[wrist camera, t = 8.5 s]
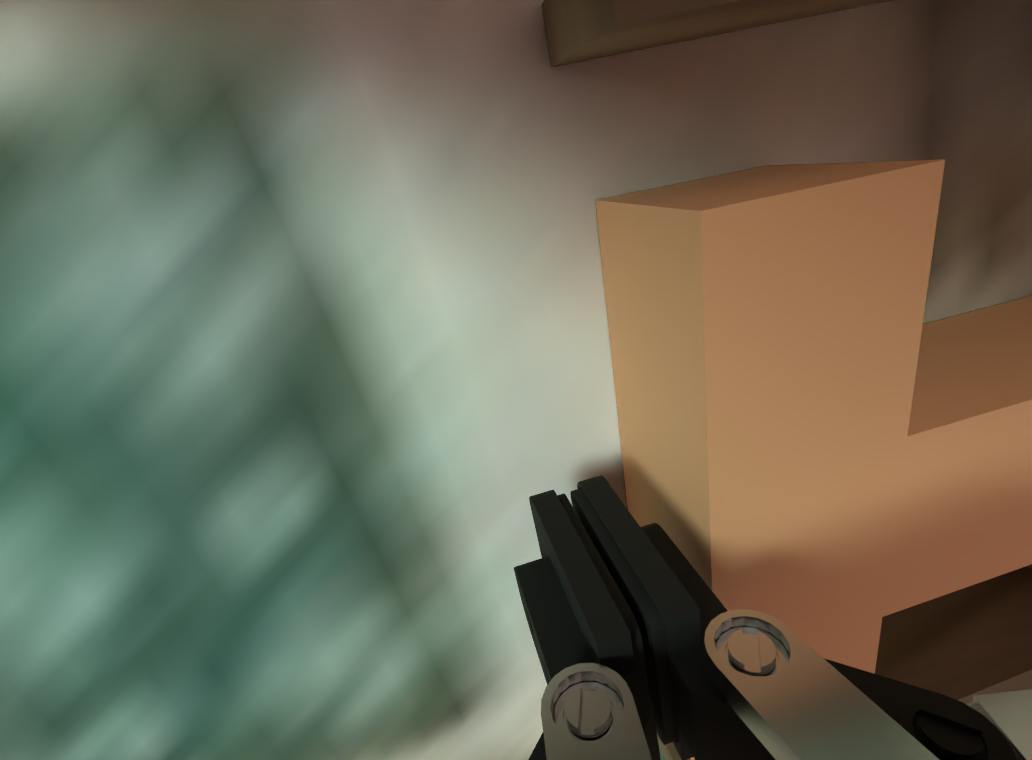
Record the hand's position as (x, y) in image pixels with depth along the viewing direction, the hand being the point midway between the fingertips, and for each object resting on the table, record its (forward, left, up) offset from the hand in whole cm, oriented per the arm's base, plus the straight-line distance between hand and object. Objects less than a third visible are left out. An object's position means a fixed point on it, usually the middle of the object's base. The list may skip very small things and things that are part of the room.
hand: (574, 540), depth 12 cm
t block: (0, +8, -2) cm, 9 cm away
